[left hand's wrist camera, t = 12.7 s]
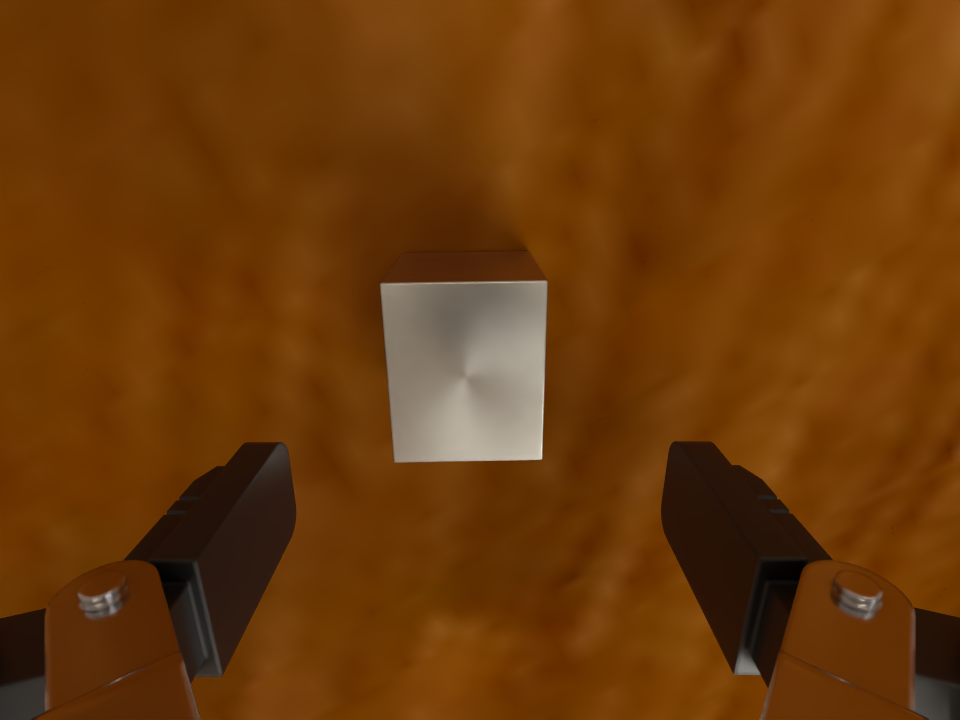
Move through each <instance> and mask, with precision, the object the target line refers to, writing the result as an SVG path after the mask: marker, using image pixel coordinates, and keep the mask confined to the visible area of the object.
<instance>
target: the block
mask: <svg viewBox="0 0 960 720" xmlns="http://www.w3.org/2000/svg"><path fill="white" fill-rule="evenodd" d="M380 295H381V307H382V320H383V332H384V345H385V357H386V370H387V382H388V395H389V407H390V420H391V432H392V445H393V457H394V462H395V463H406V462H459V461H513V460H542V458H543V428H544V395H545V363H546V330H547V298H548V280H547V279H546V277H545V276H544V274H543V272H542V271H541V269H540V267H539V266H538V264H537V263H536V261H535V259H534V258H533V256H532V255H531V253H530V251H485V252H422V253H402V255H401V256H400V257H399V259H398V260H397V261H396V263H395V264H394V265H393V267H392V268H391V269H390V271H389V272H388V273H387V275H386V276H385V277H384V279H383V280H382V281H381V283H380Z"/></svg>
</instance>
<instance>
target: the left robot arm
mask: <svg viewBox="0 0 960 720" xmlns="http://www.w3.org/2000/svg"><path fill="white" fill-rule="evenodd" d="M179 498H180V499H179V501H176V502H175V503H174V504H173V505H172V506H171V508H170V509H169V510H168V511H167V515H163V517H162V518H161V519H160V520H159V521H158V522H157V523H156V524H155V526H154V527H153V528H152V529H151V530H150V531H149V532H148V533H147V535H146V536H145V537H144V538H143V539H142V540H141V541H140V542H139V544H138V545H137V546H136V547H135V548H134V549H133V550H132V551H131V553H130V554H129V555H128V556H127V557H126V558H125V559H124V560H123V561H118V562H114V563H110V564H106V565H103V566H100V567H98V568H95V569H93V570H90V571H88V572H86V573H84V574H82V575H81V576H79V577H77V578H76V579H74V580H72V581H71V582H70V583H68V584H67V585H65V586H64V587H63V588H62V589H61V590H60V591H58V593H57V594H56V595H55V596H54V597H53V598H52V599H51V601H50V602H49V604H48V606H47V608H45V609H41V610H37V611H32V612H28V613H23V614H19V615H14V616H10V617H6V618H1V619H0V720H200V717H199V714H198V710H197V706H196V703H195V699H194V696H193V692H192V689H191V683H192V681H193V679H194V677H222V676H223V674H224V672H225V670H226V668H227V666H228V664H229V662H230V660H231V658H232V656H233V654H234V652H235V650H236V648H237V645H238V643H239V641H240V639H241V637H242V635H243V633H244V631H245V629H246V627H247V625H248V623H249V621H250V619H251V617H252V615H253V613H254V611H255V609H256V607H257V605H258V603H259V601H260V599H261V597H262V595H263V593H264V591H265V589H266V587H267V585H268V583H269V581H270V579H271V577H272V575H273V573H274V571H275V569H276V567H277V565H278V563H279V561H280V559H281V557H282V555H283V553H284V551H285V549H286V547H287V545H288V543H289V541H290V539H291V537H292V534H293V531H294V527H295V521H296V503H295V496H294V489H293V482H292V475H291V468H290V461H289V454H288V450H287V447H286V445H285V444H284V443H282V442H247V443H244V444H243V445H242V446H241V447H240V449H239V450H238V451H237V452H236V453H235V455H234V456H233V457H232V458H231V459H230V461H229V462H228V463H227V464H226V465H225V466H217V467H215V468H214V469H212V470H211V471H209V472H207V473H206V474H204V475H203V476H201V477H199V478H198V479H196V480H195V481H194V482H193V483H192V484H191V485H190V486H189V487H188V488H187V489H186V491H185V492H184V493H183V494H182V495H181V496H180V497H179ZM661 518H662V525H663V529H664V533H665V535H666V538H667V540H668V542H669V544H670V546H671V548H672V550H673V552H674V554H675V556H676V558H677V560H678V562H679V564H680V566H681V568H682V570H683V572H684V574H685V576H686V578H687V580H688V582H689V584H690V587H691V589H692V591H693V593H694V595H695V597H696V599H697V601H698V603H699V605H700V607H701V609H702V611H703V613H704V615H705V617H706V619H707V621H708V623H709V625H710V627H711V629H712V631H713V633H714V635H715V637H716V639H717V641H718V643H719V645H720V647H721V649H722V651H723V654H724V656H725V658H726V660H727V662H728V664H729V666H730V668H731V670H732V672H733V674H734V675H761V676H762V678H763V680H764V681H765V683H766V685H767V687H768V692H767V696H766V699H765V703H764V706H763V710H762V714H761V717H760V720H960V618H958V617H954V616H949V615H945V614H940V613H936V612H931V611H927V610H922V609H918V608H914V607H913V606H912V604H911V602H910V601H909V599H908V598H907V597H906V596H905V595H904V594H903V593H902V591H900V590H899V589H898V588H897V587H896V586H895V585H893V584H892V583H890V582H889V581H888V580H886V579H884V578H883V577H881V576H879V575H878V574H876V573H874V572H872V571H870V570H867V569H865V568H862V567H860V566H857V565H854V564H850V563H846V562H842V561H835V560H832V558H831V557H830V556H829V555H828V554H827V553H826V552H825V550H824V549H823V548H822V547H821V546H820V545H819V544H818V542H817V541H816V540H815V539H814V538H813V537H812V536H811V535H810V533H809V532H808V531H807V530H806V529H805V528H804V527H803V525H802V524H801V523H800V522H799V521H798V520H797V519H796V517H795V516H794V515H793V514H789V510H788V508H787V507H786V506H785V505H784V504H783V503H782V502H781V500H777V496H776V495H775V494H774V492H773V491H772V490H771V489H770V488H769V487H768V486H767V485H766V483H765V482H764V481H763V480H762V479H760V478H759V477H757V476H756V475H754V474H752V473H751V472H749V471H748V470H746V469H744V468H743V467H741V466H740V465H731V464H730V463H729V461H728V460H727V459H726V458H725V456H724V455H723V454H722V453H721V452H720V450H719V449H718V448H717V447H716V446H715V444H714V443H712V442H709V441H675V442H673V443H672V444H671V446H670V449H669V454H668V461H667V468H666V475H665V482H664V489H663V497H662V504H661Z"/></svg>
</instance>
